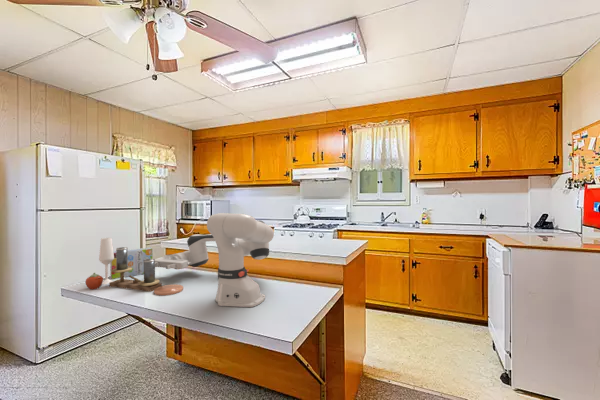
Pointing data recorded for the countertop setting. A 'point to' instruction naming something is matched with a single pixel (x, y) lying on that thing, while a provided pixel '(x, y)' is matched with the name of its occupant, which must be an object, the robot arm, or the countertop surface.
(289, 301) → the countertop surface
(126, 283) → the balance
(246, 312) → the countertop surface
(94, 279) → the tomato
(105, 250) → the champagne flute
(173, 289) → the dish
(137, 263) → the snack box
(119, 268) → the cylinder
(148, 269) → the brushed steel peg
